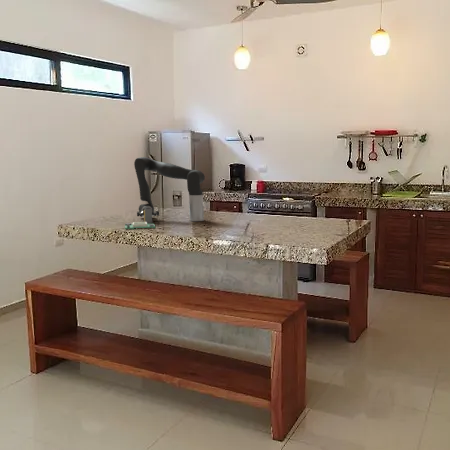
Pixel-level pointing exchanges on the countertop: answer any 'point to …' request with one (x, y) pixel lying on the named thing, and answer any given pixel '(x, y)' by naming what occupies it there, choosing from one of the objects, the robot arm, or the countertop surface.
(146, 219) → the plug
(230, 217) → the countertop surface
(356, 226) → the countertop surface
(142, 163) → the robot arm
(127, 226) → the mount board
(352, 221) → the countertop surface
